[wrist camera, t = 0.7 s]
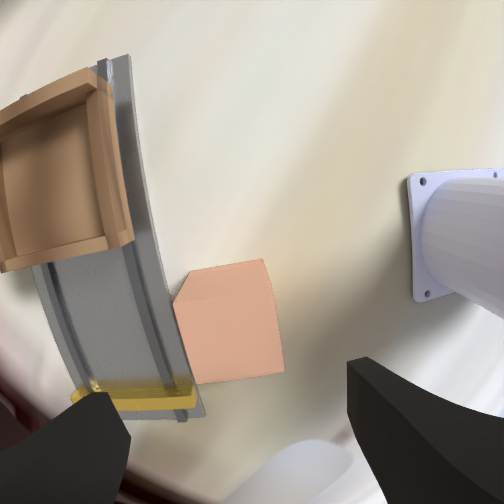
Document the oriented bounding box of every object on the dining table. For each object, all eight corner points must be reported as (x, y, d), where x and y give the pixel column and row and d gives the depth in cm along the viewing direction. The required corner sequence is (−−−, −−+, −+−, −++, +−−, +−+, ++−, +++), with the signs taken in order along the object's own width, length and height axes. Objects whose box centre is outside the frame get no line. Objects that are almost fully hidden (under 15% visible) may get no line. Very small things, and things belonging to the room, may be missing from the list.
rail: (130, 57, 14) (121, 46, 12) (205, 412, 19) (203, 428, 17) (15, 107, 14) (0, 102, 12) (94, 414, 19) (87, 428, 17)
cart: (119, 91, 14) (87, 67, 10) (141, 235, 15) (111, 252, 11) (12, 136, 14) (-30, 130, 10) (30, 260, 15) (-10, 278, 11)
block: (262, 258, 17) (272, 287, 12) (273, 324, 18) (285, 371, 13) (190, 270, 17) (172, 303, 12) (205, 334, 18) (196, 384, 13)
